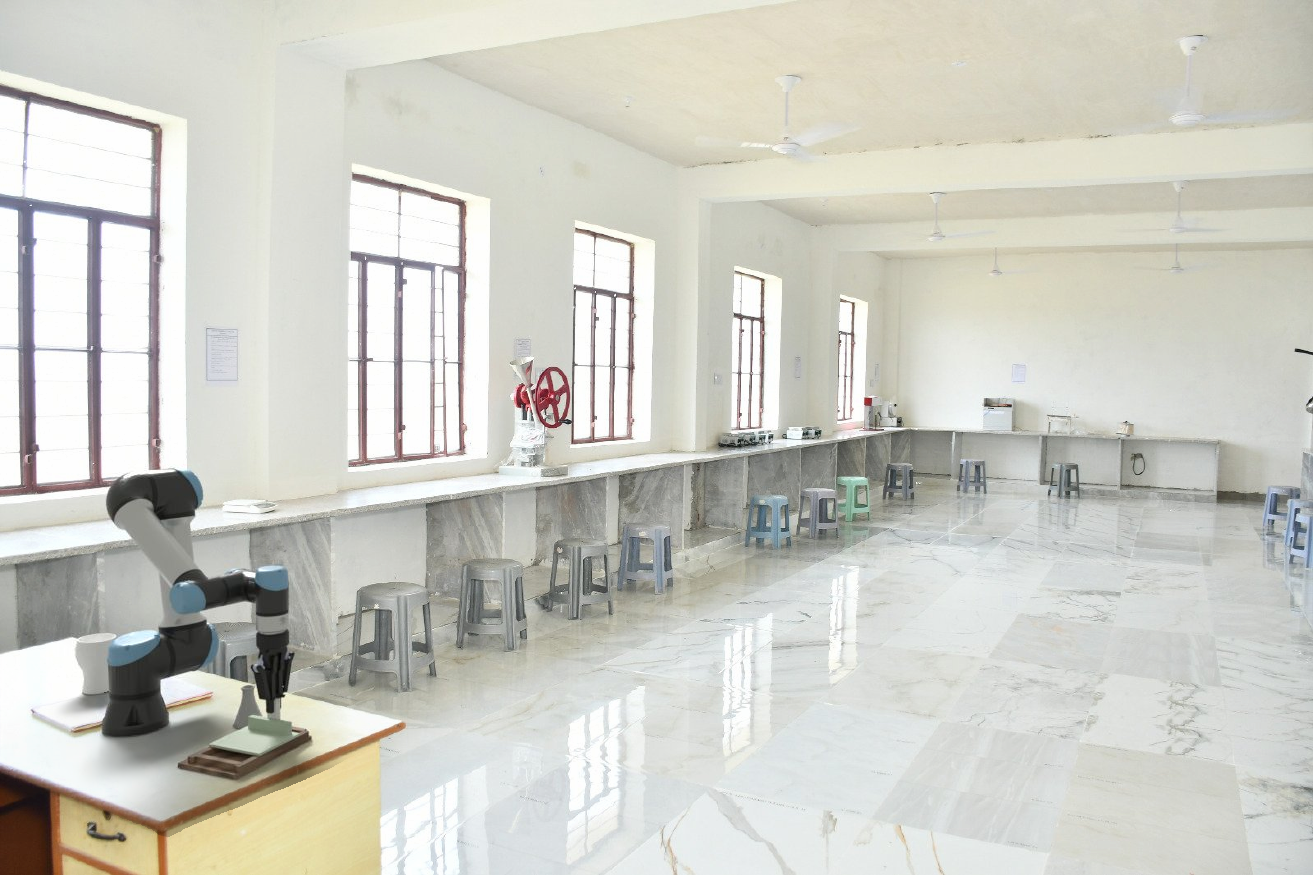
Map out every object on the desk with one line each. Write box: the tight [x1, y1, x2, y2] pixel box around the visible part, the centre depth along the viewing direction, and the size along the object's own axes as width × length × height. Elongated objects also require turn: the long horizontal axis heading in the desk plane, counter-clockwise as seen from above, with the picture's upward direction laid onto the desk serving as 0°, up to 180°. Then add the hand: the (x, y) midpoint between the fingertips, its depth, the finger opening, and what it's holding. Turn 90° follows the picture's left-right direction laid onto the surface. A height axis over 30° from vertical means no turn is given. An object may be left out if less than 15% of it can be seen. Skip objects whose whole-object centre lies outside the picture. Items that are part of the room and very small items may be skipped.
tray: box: [177, 725, 313, 780], centre depth 234 cm, size 17×25×2 cm
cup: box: [74, 632, 118, 695], centre depth 275 cm, size 11×11×15 cm
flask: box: [232, 684, 264, 730], centre depth 251 cm, size 7×7×10 cm
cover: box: [208, 715, 300, 756], centre depth 234 cm, size 15×14×4 cm
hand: (273, 724), depth 241 cm, fingers closed
